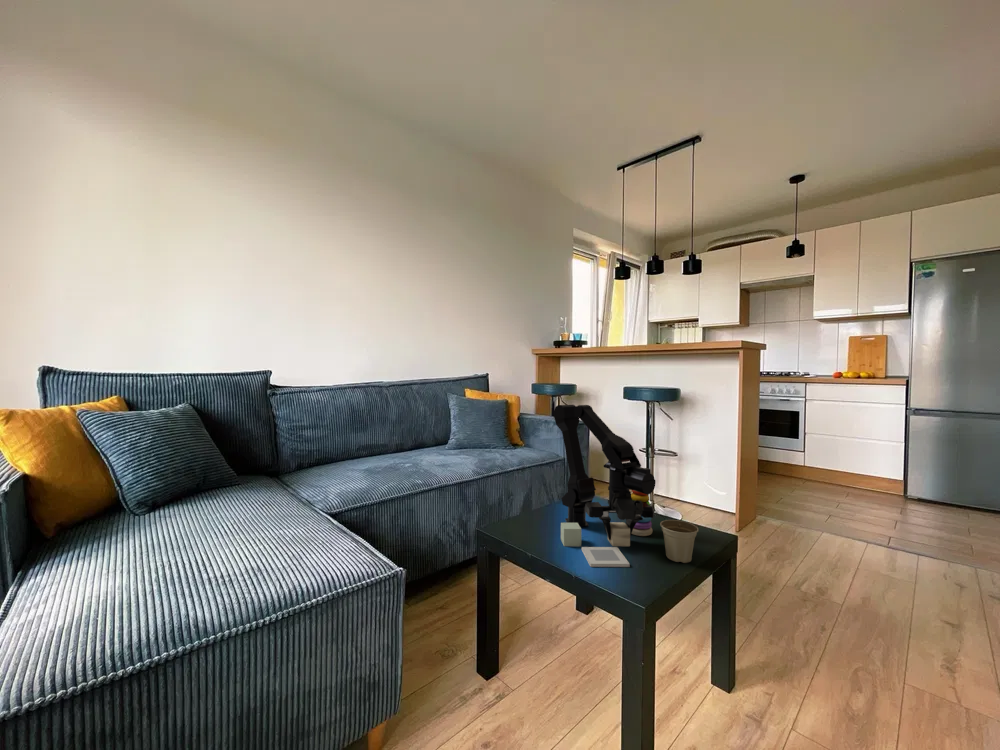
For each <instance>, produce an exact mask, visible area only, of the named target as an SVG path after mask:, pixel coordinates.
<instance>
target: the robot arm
mask: <svg viewBox="0 0 1000 750" xmlns="http://www.w3.org/2000/svg"><path fill="white" fill-rule="evenodd" d="M552 415H553V419H554V421H555V425H556V427H557V428H558V429H559V430H560V431H561V433H562V439H563V443H564V450H565V454H566V455H565V456H566V459H567V465H568V471H569V477H568V482H567V483H566V486H567V492H566V493H565V494H564V495H563V496H562V497H561V502H562V505H563V506H565V507H567V517H565V518H564V521H565V523H578V524H579V526H580V527H581V528H584V527H585V528H589V526H590V525H589V523H588V521H587V520H586V518H587V517H586V514H587V516H588V517H589V518H593V519H594V518H597V519H599V520H601V522H602V524H603V527H604V529H605V532H606V535H607V537H608V539H609V540H610V539H611V529H610V522H611V521H612V518H611V517H610V516H609V515H610V514H616V516H617V519H619V520H621V521H624V520H626V521H625V524H626V525H627V526H628V527H629V528H630V537H631V535H632V534H631V533H632V531H633V528H634V526H635V524H636V523H637V522H638V521H639V520H642V519H643V518H642V517H641V515H642V516H643V517H644V518H651V519H652V518H653V519H654V517H655V509H654V508H653V507H652V506H651V504H650V505H649V504H647V503H646V502H642V501H635V500H632V498H631V494H632V490H634V491H637V492H641V493H644V494H647V495H651V494H652V493H653V492H654V490H655V488H656V479H655V476H654V474H652V472H651V471H652V470H651V468H648V467H642V464H641V462H640V460H639V459H638V457H637V454H636V453H635V451H634V447H633V445H632V444H631V443H630V442H628V441H627V440H626V439H625V438H623V437H622V436H619V435H617V434H615V433H614V431H612V430H611V429H610V427H609V426H608V425H607V424H606V423H605V422H604V421H603V420H602V419H601V417H600V416H599V415H598V414H597V413H596V412H595V411H594V410H593V407H592V406H591V405H589V404H579V405H575V404H558V405H556V406H555V407H554V409H553V412H552ZM580 421H581V422H582V423H583V424H584V425H585V426H586V427H587V429H588V430H589V431H590V432H591V433H592V435H593V436H594V437H595V438H596V440H598V442H599V443H600V445H601V451H602V452H603V454H604V455H605V457H606V459H607V460H608V461H607V462H606V463H605V464H603V468H605V469H609V472H608V477H609V478H608V486H607V488H608V489H607V491H608V500H607V504H608V505H602V504H601V503H600V502H599V501H593V499H594V498H595V496H596V490H597V489H596V487H595V480H594V477H590V476H588V474H587V473H586V469H585V465H584V464H585V463H584V460H583V455H582V449H581V444H580V439H579V435H578V426H579V425H580ZM630 490H631V491H630ZM608 539H607V540H608Z"/></svg>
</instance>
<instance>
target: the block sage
mask: <svg viewBox="0 0 1000 750" xmlns="http://www.w3.org/2000/svg"><path fill="white" fill-rule="evenodd" d="M560 541H561V543H562V544H563V547H582V527H580V526H579V524H578V523H567V522H560Z"/></svg>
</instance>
